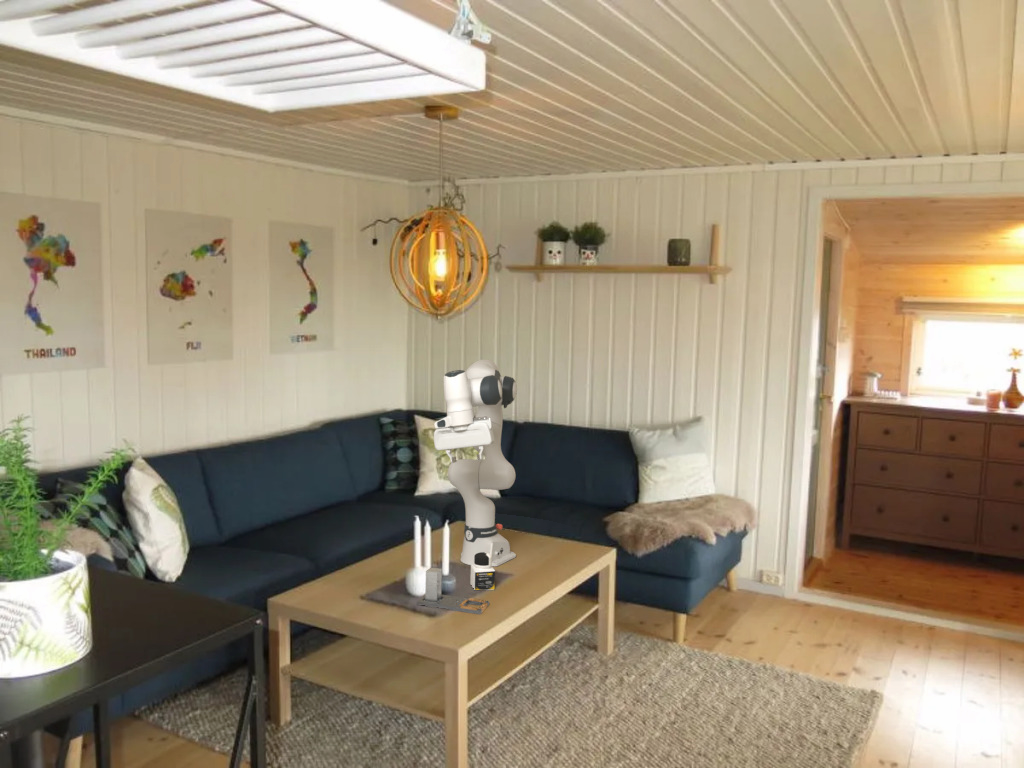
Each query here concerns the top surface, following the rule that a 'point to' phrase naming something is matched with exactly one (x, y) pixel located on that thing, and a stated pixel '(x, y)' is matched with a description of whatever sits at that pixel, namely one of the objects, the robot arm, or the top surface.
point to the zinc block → (433, 585)
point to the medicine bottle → (482, 572)
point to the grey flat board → (457, 604)
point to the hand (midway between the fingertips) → (467, 461)
